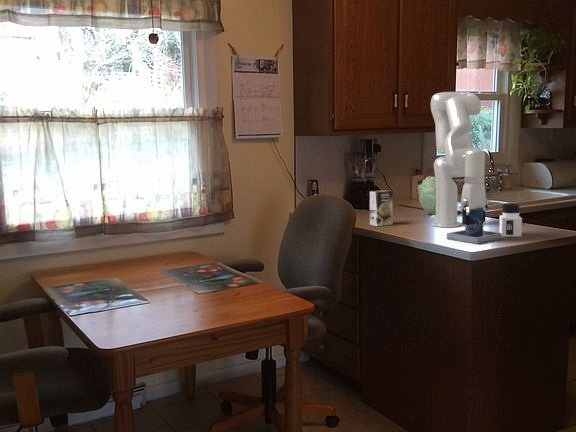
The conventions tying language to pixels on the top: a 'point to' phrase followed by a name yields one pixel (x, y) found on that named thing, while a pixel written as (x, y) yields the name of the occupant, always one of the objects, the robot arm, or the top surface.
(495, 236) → the tray
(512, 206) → the container
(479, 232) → the soda can
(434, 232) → the top surface
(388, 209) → the coffee box
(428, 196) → the cabbage
